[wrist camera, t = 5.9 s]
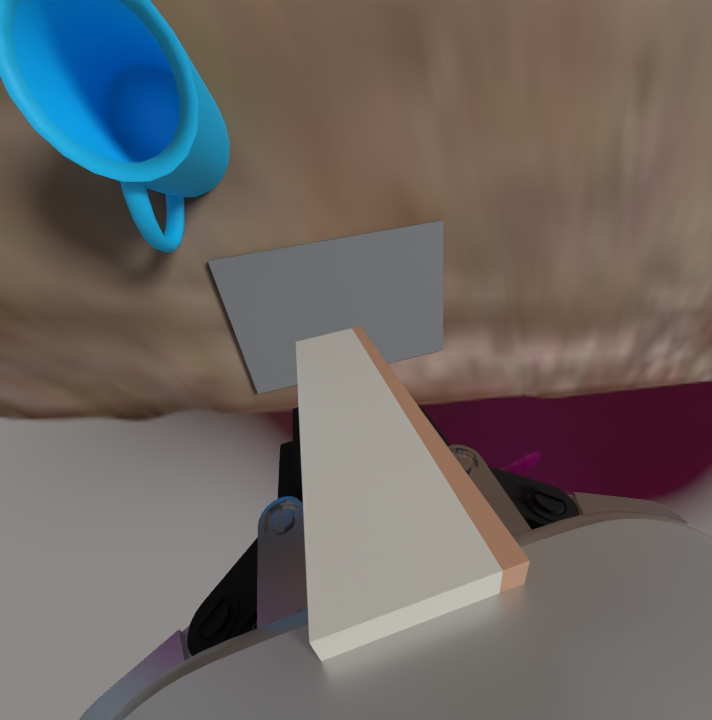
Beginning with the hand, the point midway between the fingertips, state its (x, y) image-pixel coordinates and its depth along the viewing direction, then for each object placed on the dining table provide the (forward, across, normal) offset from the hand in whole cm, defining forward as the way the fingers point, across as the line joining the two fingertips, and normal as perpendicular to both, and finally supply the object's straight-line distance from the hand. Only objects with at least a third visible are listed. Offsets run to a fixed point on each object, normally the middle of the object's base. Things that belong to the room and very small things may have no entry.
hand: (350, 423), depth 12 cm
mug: (+19, +8, -14) cm, 24 cm away
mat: (+18, -3, +1) cm, 19 cm away
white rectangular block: (+2, 0, 0) cm, 2 cm away
